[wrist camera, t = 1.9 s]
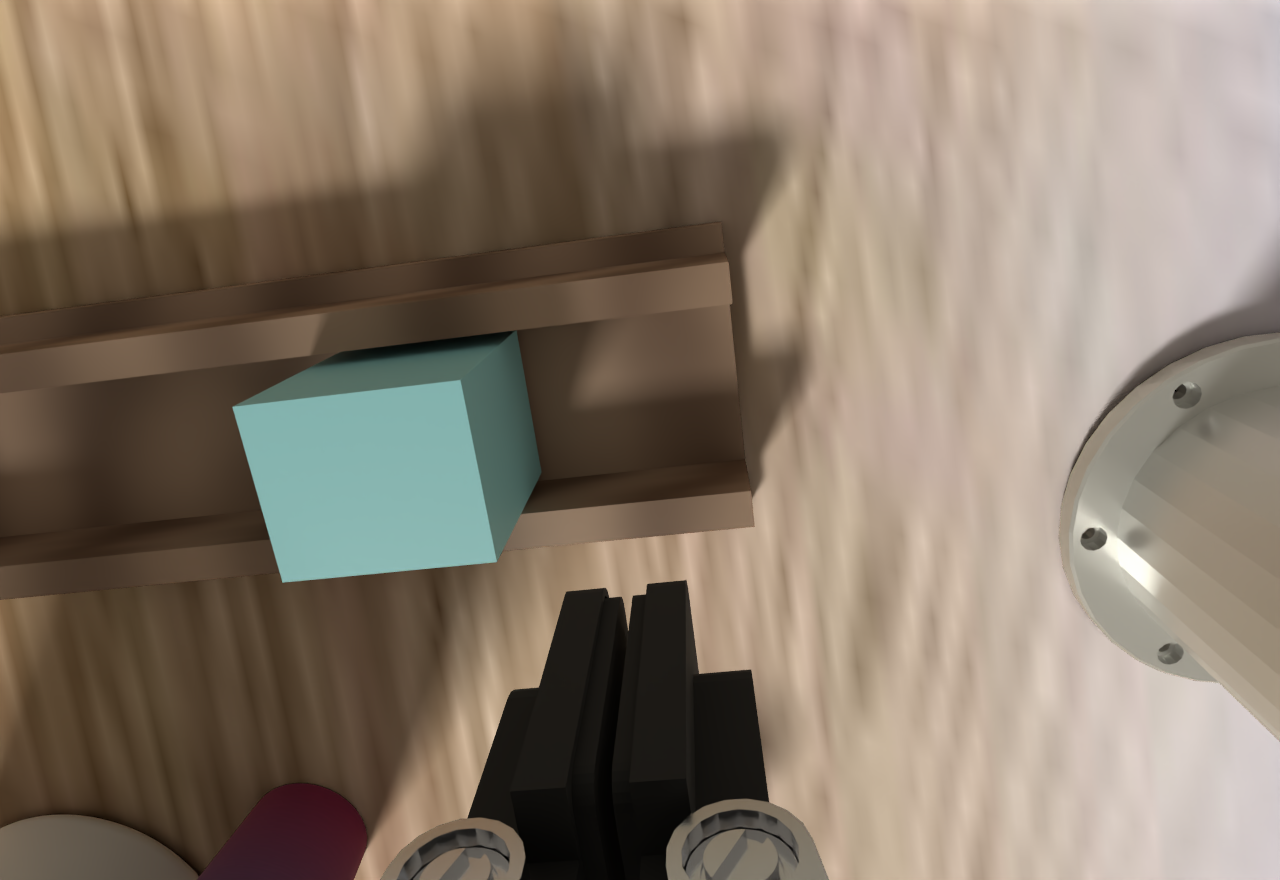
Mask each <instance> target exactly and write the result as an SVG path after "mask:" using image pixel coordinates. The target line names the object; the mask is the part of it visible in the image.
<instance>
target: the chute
mask: <svg viewBox="0 0 1280 880" xmlns="http://www.w3.org/2000/svg"><path fill="white" fill-rule="evenodd" d="M730 304H733V302H732V292H731V282H730V272H729V262H728V259H727V257H726V255H725V252H724V242H723V232H722V223H721V222H713V223H705V224H698V225H690V226H683V227H675V228H668V229H660V230H652V231H645V232H637V233H630V234H622V235H614V236H607V237H599V238H592V239H584V240H577V241H569V242H561V243H554V244H546V245H539V246H531V247H523V248H516V249H508V250H501V251H493V252H486V253H478V254H470V255H463V256H455V257H448V258H440V259H432V260H425V261H417V262H410V263H402V264H394V265H387V266H379V267H372V268H364V269H357V270H349V271H341V272H334V273H326V274H319V275H311V276H303V277H296V278H288V279H281V280H273V281H266V282H258V283H250V284H243V285H235V286H228V287H220V288H212V289H205V290H197V291H190V292H182V293H175V294H167V295H159V296H152V297H144V298H137V299H129V300H121V301H114V302H106V303H99V304H91V305H84V306H76V307H68V308H61V309H53V310H46V311H38V312H30V313H23V314H15V315H8V316H0V600H3V599H13V598H24V597H34V596H44V595H55V594H65V593H75V592H85V591H96V590H106V589H116V588H127V587H137V586H147V585H158V584H168V583H178V582H189V581H199V580H209V579H220V578H230V577H240V576H251V575H261V574H271V573H280V572H279V568H278V565H277V561H276V558H275V554H274V551H273V547H272V544H271V540H270V537H269V533H268V530H267V526H266V523H265V519H264V516H263V512H262V509H261V505H260V502H259V498H258V495H257V491H256V488H255V484H254V481H253V477H252V474H251V470H250V467H249V463H248V460H247V456H246V453H245V449H244V446H243V442H242V439H241V435H240V432H239V428H238V425H237V421H236V418H235V414H234V411H233V406H235V405H237V404H239V403H241V402H243V401H245V400H247V399H249V398H251V397H253V396H255V395H257V394H259V393H261V392H263V391H264V390H266V389H268V388H270V387H272V386H274V385H276V384H278V383H280V382H282V381H284V380H286V379H288V378H290V377H292V376H294V375H296V374H298V373H300V372H302V371H304V370H306V369H308V368H310V367H312V366H314V365H316V364H317V363H319V362H321V361H323V360H325V359H327V358H329V357H331V356H333V355H335V354H337V353H339V352H343V351H351V350H359V349H367V348H376V347H384V346H392V345H400V344H408V343H417V342H425V341H433V340H441V339H449V338H457V337H466V336H474V335H482V334H490V333H498V332H506V331H515V330H517V336H518V342H519V347H520V353H521V359H522V364H523V370H524V376H525V381H526V387H527V393H528V398H529V404H530V410H531V415H532V421H533V427H534V432H535V438H536V444H537V449H538V455H539V461H540V466H541V472H542V473H541V475H540V477H539V479H538V481H537V483H536V485H535V487H534V489H533V491H532V493H531V495H530V497H529V499H528V501H527V503H526V505H525V507H524V509H523V511H522V513H521V515H520V517H519V519H518V521H517V523H516V525H515V527H514V529H513V531H512V533H511V535H510V537H509V539H508V541H507V543H506V545H505V547H504V549H503V551H508V550H519V549H529V548H539V547H550V546H560V545H570V544H581V543H591V542H601V541H612V540H622V539H632V538H643V537H653V536H663V535H674V534H684V533H694V532H704V531H715V530H725V529H735V528H746V527H755V526H754V516H753V505H752V495H751V488H750V483H749V477H748V472H747V467H746V461H745V453H744V443H743V433H742V423H741V413H740V403H739V393H738V383H737V373H736V363H735V353H734V343H733V333H732V323H731V313H730Z"/></svg>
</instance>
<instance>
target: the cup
mask: <svg viewBox="0 0 1280 880" xmlns="http://www.w3.org/2000/svg"><path fill="white" fill-rule="evenodd" d="M366 846H367V833H366V828H365V825H364V822H363V820H362V818H361V816H360V815H359V813H358V812H357V810H356V809H355V808H354V807H353V806H352V805H351V804H350V803H349V802H348V801H347V800H346V799H344V798H343V797H342V796H340V795H339V794H337V793H335V792H333V791H331V790H329V789H327V788H324V787H321V786H318V785H312V784H304V783H295V784H288V785H284V786H281V787H278V788H275V789H273V790H272V791H270V792H269V793H267V794H266V795H265V796H264V797H263V798H262V799H261V800H260V801H259V802H258V803H257V805H256V806H255V807H254V808H253V810H252V811H251V812H250V813H249V815H248V816H247V817H246V818H245V820H244V821H243V822H242V823H241V825H240V826H239V827H238V828H237V830H236V831H235V832H234V834H233V835H232V836H231V837H230V839H229V840H228V841H227V842H226V844H225V845H224V846H223V847H222V849H221V850H220V851H219V852H218V854H217V855H216V856H215V857H214V859H213V860H212V861H211V862H210V864H209V865H208V866H207V867H206V869H205V870H204V871H203V872H202V874H201V875H200V876H199V878H198V879H197V880H354V878H355V875H356V873H357V870H358V868H359V865H360V863H361V860H362V858H363V855H364V852H365V849H366Z"/></svg>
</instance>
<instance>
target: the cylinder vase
mask: <svg viewBox="0 0 1280 880" xmlns="http://www.w3.org/2000/svg"><path fill="white" fill-rule="evenodd" d="M198 878H199V876H198V875H197V873H196V872H195V871H194V870H193V869H192V868H191V867H190V866H189V865H188V864H187V863H186V862H185V861H184V860H182V859H181V858H180V857H179V856H178V855H176V854H175V853H174V852H172V851H171V850H170V849H168V848H167V847H165V846H164V845H162V844H161V843H159V842H158V841H156V840H154V839H152V838H151V837H149V836H147V835H145V834H143V833H141V832H139V831H137V830H134V829H132V828H129V827H127V826H124V825H121V824H118V823H115V822H112V821H108V820H104V819H100V818H95V817H89V816H81V815H45V816H38V817H33V818H28V819H24V820H21V821H17V822H14V823H12V824H9V825H7V826H4V827H2V828H0V880H197V879H198Z"/></svg>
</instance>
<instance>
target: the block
mask: <svg viewBox="0 0 1280 880" xmlns="http://www.w3.org/2000/svg"><path fill="white" fill-rule="evenodd" d="M233 411H234V414H235V418H236V421H237V425H238V428H239V432H240V435H241V439H242V442H243V446H244V449H245V453H246V456H247V460H248V463H249V467H250V470H251V474H252V477H253V481H254V484H255V488H256V491H257V495H258V498H259V502H260V505H261V509H262V512H263V516H264V519H265V523H266V526H267V530H268V533H269V537H270V540H271V544H272V547H273V551H274V554H275V558H276V561H277V565H278V568H279V572H280V575H281V579H282V582H283V583H284V582H294V581H305V580H315V579H325V578H336V577H346V576H357V575H367V574H378V573H388V572H399V571H409V570H420V569H430V568H440V567H451V566H461V565H472V564H482V563H493V562H497V561H498V559H499V557H500V555H501V553H502V551H503V549H504V547H505V545H506V543H507V541H508V539H509V537H510V535H511V533H512V531H513V529H514V527H515V525H516V523H517V521H518V519H519V517H520V515H521V513H522V511H523V509H524V507H525V505H526V503H527V501H528V499H529V497H530V495H531V493H532V491H533V489H534V487H535V485H536V483H537V481H538V479H539V477H540V475H541V473H542V472H541V466H540V461H539V455H538V449H537V444H536V438H535V432H534V427H533V421H532V415H531V410H530V404H529V398H528V393H527V387H526V381H525V376H524V370H523V364H522V359H521V353H520V347H519V342H518V336H517V330H515V331H506V332H498V333H490V334H482V335H474V336H466V337H457V338H449V339H441V340H433V341H425V342H417V343H408V344H400V345H392V346H384V347H376V348H367V349H359V350H351V351H343V352H339V353H337V354H335V355H333V356H331V357H329V358H327V359H325V360H323V361H321V362H319V363H317V364H316V365H314V366H312V367H310V368H308V369H306V370H304V371H302V372H300V373H298V374H296V375H294V376H292V377H290V378H288V379H286V380H284V381H282V382H280V383H278V384H276V385H274V386H272V387H270V388H268V389H266V390H264V391H263V392H261V393H259V394H257V395H255V396H253V397H251V398H249V399H247V400H245V401H243V402H241V403H239V404H237V405H235V406H233Z"/></svg>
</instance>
